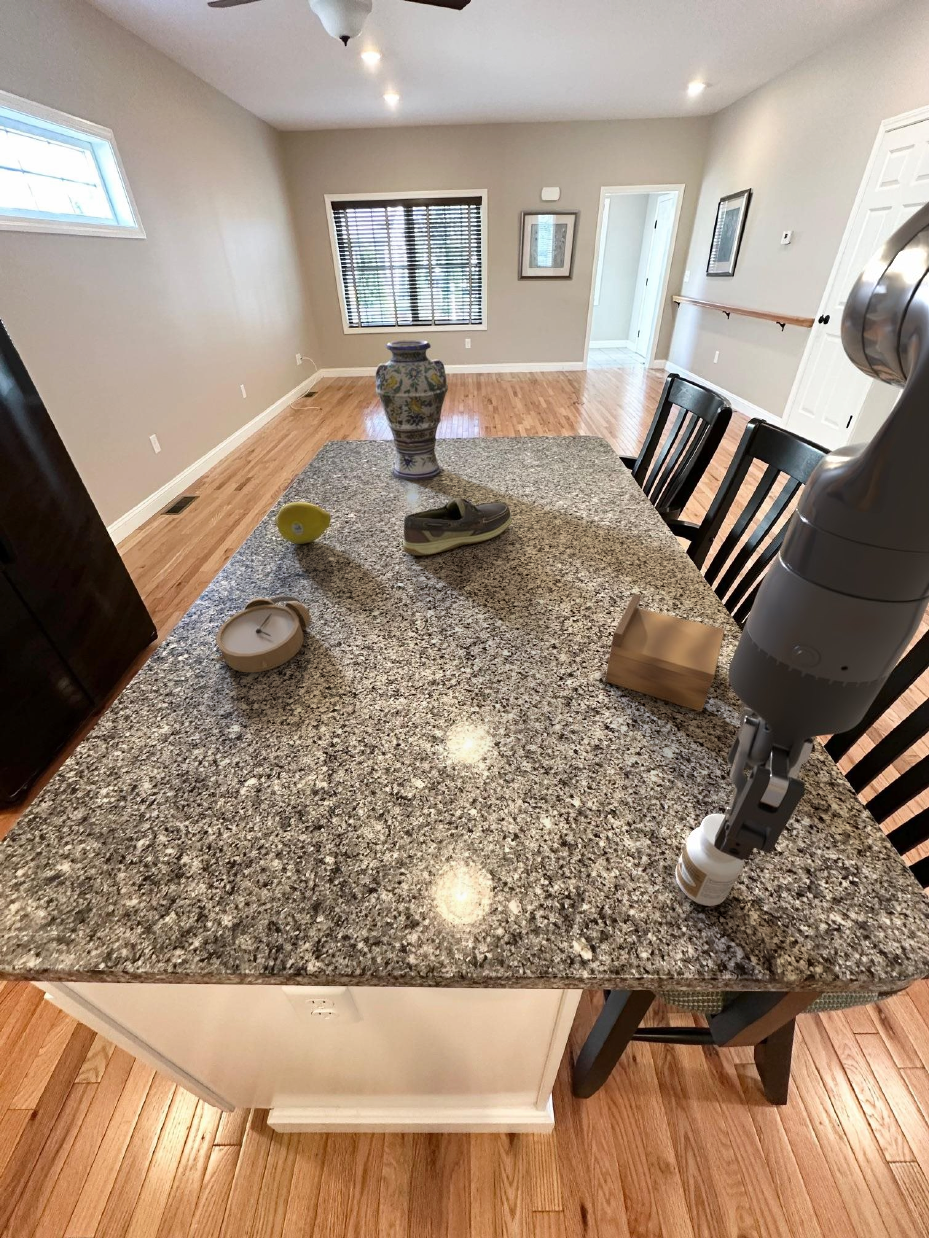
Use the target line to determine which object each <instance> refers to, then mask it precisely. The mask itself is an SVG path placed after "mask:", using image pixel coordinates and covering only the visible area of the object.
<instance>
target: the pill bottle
mask: <svg viewBox="0 0 929 1238" xmlns="http://www.w3.org/2000/svg"><path fill="white" fill-rule="evenodd" d="M725 815H726V814H721V813H711V814H708V815H707V816H705V817H704V818H703V820H702V821H701V823H700V826H699V827H697V828H695V829H694V830H692V831H691V833H690V834H689V836H688V837H687V840H686V842H685V844H684V847H683V849H682V851H681V854H680V856H679V859H678V861H677V864H676V866H675V872H674V873H675V879H676V882H677V885H678V886H679V888H680V890H681V892H683V894H684V895H685V896H687V897H688V898H689V899H690V900H691V901H693V902H695V903H697V904H699V905H702V906H707V907H708V906H709V907H711V906H714V907H715V906H717V905H720V904H722V903H723V902H724V901H725V900H726V898H727V897H728V896H729V894H730V892H731V890H732V888H733V887H734V885H735V883H736V881H737V880H738V878H739V876H740V874H741V873H742V871H743V868H744V864H745V860H740V859H737V858H735V857H733V856H730V855H728V854H725V853H723V852H721V851H720V850H718V849H716V848H715V846H714V842H715V836H716V834H717V832H718V830H719V828H720V825H721V823H722V821H723V819H724V817H725Z"/></svg>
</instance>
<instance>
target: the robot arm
mask: <svg viewBox="0 0 929 1238" xmlns="http://www.w3.org/2000/svg"><path fill="white" fill-rule="evenodd" d="M840 340H841V344H842V348H843V351H844V353H845V355H846V356H847V358H848V360H849V361H850V363H851V364H853V365H854V366H855V367H856V368H857V369H858V370H859V371H861V372H862V373H863V374H865V375H866V376H867V377H869V378H872V379H874V380H876V381H879V382H882V383H884V384H887V385H889V386H892V387H896V388H898V389H901V390H902V392H901V394H900V397H899V398H898V400H897V402H896V403H895V405H894V406H893V408H892V410H891V411H890V413H889V414H888V415H887V417H886V418H885V420H884V421H883V423H882V424H881V426H880V427H879V429H878V430H877V431H876V433H875V434H874V436H873V438H872V439H871V440H870V441H869V442H857V443H852V444H848V445H844V446H841V447H838V448H836V449H833V450H832V451H830V452H829V453H827V454H825V456H823V457H822V458H821V459H820V460H819V462H817V464H816V465H815V466H814V467H813V469H812V471H811V473H810V475H809V477H808V479H807V480H806V483H805V485H804V487H803V489H802V492H801V494H800V496H799V499H798V501H797V504H796V506H795V508H794V512H793V514H792V516H791V519H790V522H789V524H788V526H787V530H786V532H785V535H784V537H783V540H782V542H781V545H780V548H779V550H778V552H777V554H776V557H775V558H774V560H773V562H772V564H771V566H770V567H769V569H768V570H767V572H766V574H765V576H764V578H763V579H762V582H761V583H760V586H759V588H758V591H757V593H756V596H755V598H754V602H753V604H752V606H751V610H750V611H749V614H748V617H747V619H746V622H745V624H744V627H743V630H742V633H741V635H740V638H739V640H738V643H737V645H736V648H735V650H734V653H733V656H732V658H731V661H730V663H729V667H728V673H727V677H728V681H729V684H730V687H731V689H732V691H733V692H734V694H735V696H736V697H737V698H738V699H739V700H740V701H741V703H742V704H741V706H740V710H739V714H738V720H739V727H738V731H737V733H736V734H735V737H734V740H733V742H732V744H731V746H730V749H729V751H728V756H727V762H728V763H729V764H731V765H732V766H731V768H730V772H729V779H730V781H731V783H732V785H733V786H734V788H733V791H732V794H731V797H730V802H729V803H728V805H727V806H726V807H725V811H724V815H725V817H724V819H723V821H722V823H721V825H720V828H719V830H718V832H717V834H716V836H715V842H714V846H715V848H716V849H718V850H720V851H721V852H723V853H725V854H728V855H730V856H733V857H735V858H737V859H740V860H744V861H746V860H748V859H749V858H750V856H751V855H752V853H753V851H754V849H756V850H759V851H761V852H764V853H766V854H769V855H770V854H771V853H772V851H773V850H774V849H775V847H776V844H777V842H778V840H779V839H780V837H781V835H782V833H783V832H784V830H785V828H786V826H787V825H788V823H789V821H790V820H791V817H792V816H793V814H794V812H795V810H796V809H797V807H798V805H799V803H800V802H801V800H802V798H804V797H805V794H806V788H805V781H803V780H801V779H798V777H799V774H800V771H801V768H802V766H803V764H805V763H806V762H808V761H809V758H810V755H811V752H812V749H813V746H814V741H815V739H814V738H816V737H821V736H831V735H839V734H842V733H845V732H848V731H850V730H852V729H854V728H855V727H857V725H858V724H860V723H861V721H862V720H863V718H864V717H865V715H866V714H867V712H868V711H869V708H870V707H871V706H872V704H873V703H874V701H875V699H876V698H877V697H878V694H879V693H880V691H881V690H882V688H883V687H884V685H885V684H886V682H887V680H888V678H889V677H890V675H891V674H892V672H893V671H894V669H895V668H896V666H897V664H898V663H899V661H900V660H901V658H902V657H903V655H904V653H905V651H906V650H907V649H908V647H909V645H910V643H911V642H912V640H913V639H914V637H915V635H916V633H917V631H918V629H919V627H920V625H921V623H922V620H923V618H924V615H925V612H926V610H927V608H928V605H929V201H928V202H926V203H925V204H924V205H923V206H922V207H920V208H919V209H918V210H917V211H916V212H915V213H913V214H912V215H911V216H910V217H909V218H908V219H907V220H905V222H903V223H902V224H901V225H900V226H899V227H898V228H897V229H896V230H895V231H894V232H893V233H892V234H891V235H890V237H888V238H887V240H886V241H884V243H883V244H882V245H881V246H880V247H879V248H878V249H877V251H876V252H875V253H874V254H873V255H872V257H871V258H870V259H869V260H868V262H867V263H866V265H865V266H864V267H863V269H862V270H861V272H860V274H859V275H858V277H857V278H856V280H855V282H854V283H853V285H852V287H851V289H850V291H849V293H848V296H847V298H846V301H845V303H844V307H843V309H842V314H841V320H840ZM744 770H747V771H749V773H748V775H747V774H745V773H744Z"/></svg>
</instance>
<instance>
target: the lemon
mask: <svg viewBox="0 0 929 1238" xmlns="http://www.w3.org/2000/svg"><path fill="white" fill-rule="evenodd" d="M274 522H275V525H276V526H277V530H278V532H279V534H280V536H281V537H282V538H283V539H284V540H286V541H288V542H290V543H293V544H300V545H301V544H303V545H304V544H308V543H311V542H314V541H315V540H317V539H319V538H320V537H322V536H323V535H324V533H325V532H326V530H328V529H329V528H330V526H331V514H330V513H329V512H327V510H324V509H322V508H321V507H320V506H318V505H316V504H314V503H311V502H305V501H293V502H290V503H287V504H285V505H283V506H282V507H281V508H280V509H279V511H278V513H277V516H276V518H275V521H274Z"/></svg>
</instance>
